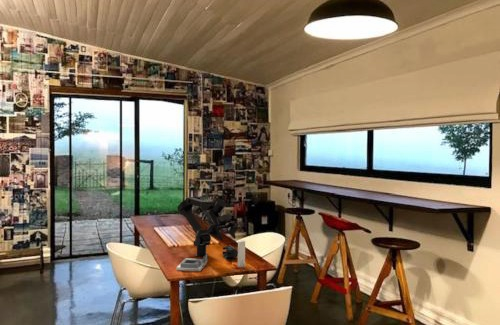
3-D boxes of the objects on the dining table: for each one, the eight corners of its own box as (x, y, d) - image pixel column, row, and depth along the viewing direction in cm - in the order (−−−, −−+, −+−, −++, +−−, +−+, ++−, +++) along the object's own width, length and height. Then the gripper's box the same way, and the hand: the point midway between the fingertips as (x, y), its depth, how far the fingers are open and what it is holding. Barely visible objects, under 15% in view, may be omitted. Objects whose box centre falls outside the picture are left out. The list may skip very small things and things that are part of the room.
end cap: (238, 259, 241) (238, 248, 241) (226, 260, 239) (226, 249, 239) (233, 255, 251) (233, 244, 251) (222, 256, 249) (222, 245, 248)
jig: (185, 260, 236) (185, 253, 236) (207, 261, 235) (207, 254, 235) (176, 270, 217) (176, 261, 217) (200, 271, 216) (200, 262, 216)
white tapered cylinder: (239, 264, 230) (239, 240, 229) (245, 265, 228) (246, 240, 228) (236, 266, 226) (237, 241, 226) (243, 267, 225) (243, 242, 224)
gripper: (209, 210, 228) (222, 232, 220) (234, 207, 241) (247, 228, 233) (201, 223, 234) (213, 245, 226) (225, 220, 247) (238, 240, 239)
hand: (229, 239), depth 231 cm, fingers open, 9 cm apart
